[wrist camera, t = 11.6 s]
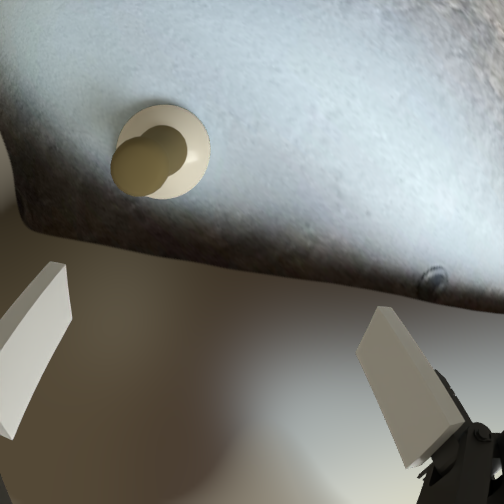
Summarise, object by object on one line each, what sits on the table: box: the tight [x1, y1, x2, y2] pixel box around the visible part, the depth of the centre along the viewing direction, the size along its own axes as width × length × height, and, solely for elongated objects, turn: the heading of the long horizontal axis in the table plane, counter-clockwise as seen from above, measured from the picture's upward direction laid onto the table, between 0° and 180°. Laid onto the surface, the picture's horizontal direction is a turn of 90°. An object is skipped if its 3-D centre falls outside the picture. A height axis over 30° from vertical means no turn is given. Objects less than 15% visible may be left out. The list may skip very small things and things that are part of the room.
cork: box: [111, 125, 187, 196], centre depth 28 cm, size 6×6×11 cm
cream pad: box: [116, 105, 211, 199], centre depth 34 cm, size 11×11×2 cm
